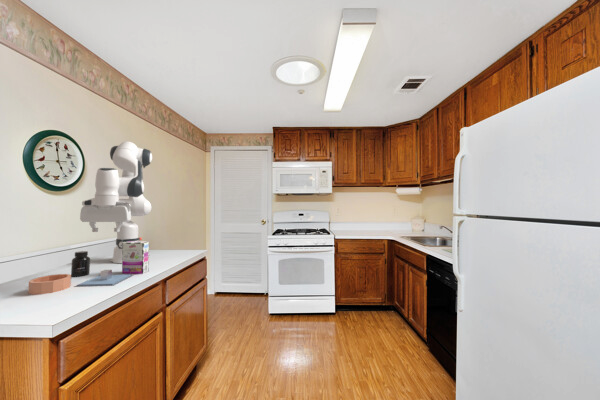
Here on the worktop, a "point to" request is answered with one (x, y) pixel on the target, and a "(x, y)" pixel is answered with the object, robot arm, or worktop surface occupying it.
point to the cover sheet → (102, 282)
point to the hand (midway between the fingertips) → (105, 231)
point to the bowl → (49, 284)
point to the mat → (106, 285)
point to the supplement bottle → (80, 264)
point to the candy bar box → (135, 257)
